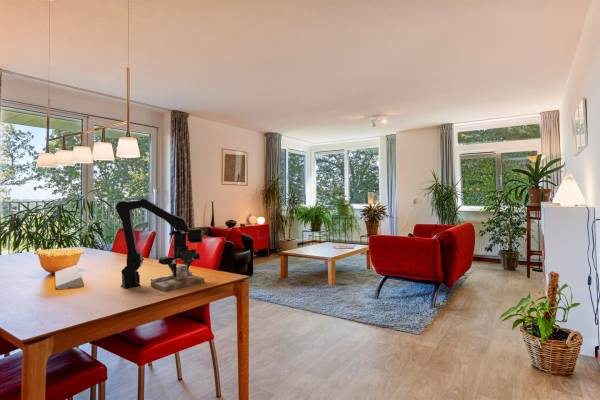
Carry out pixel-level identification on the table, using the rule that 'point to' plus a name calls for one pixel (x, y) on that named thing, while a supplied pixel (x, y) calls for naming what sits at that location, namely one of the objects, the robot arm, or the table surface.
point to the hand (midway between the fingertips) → (180, 276)
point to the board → (175, 282)
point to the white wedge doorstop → (68, 278)
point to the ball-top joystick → (181, 271)
